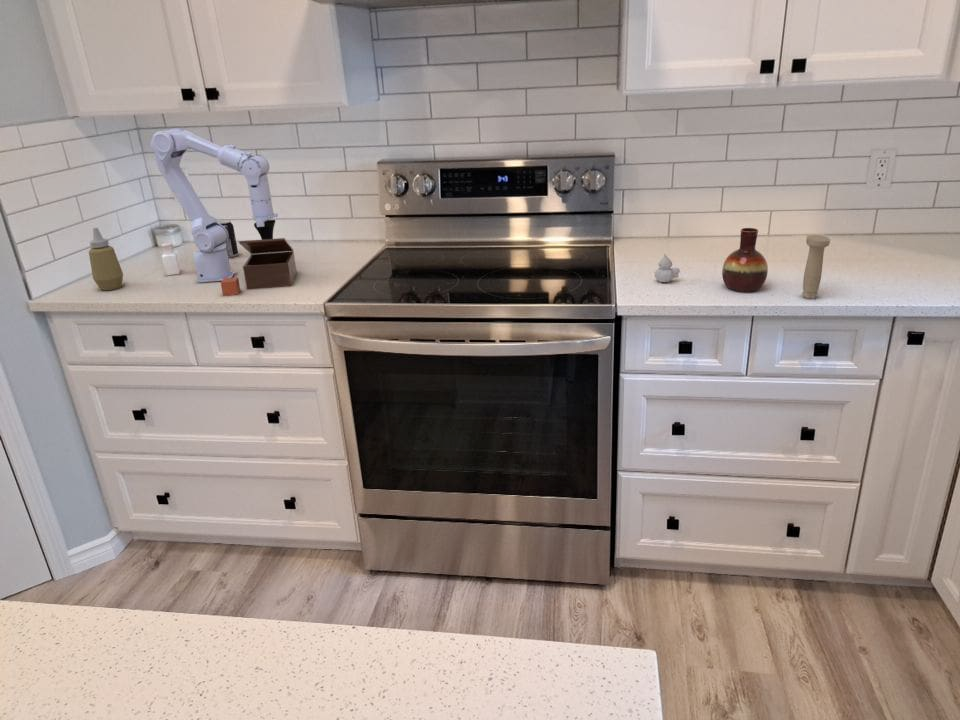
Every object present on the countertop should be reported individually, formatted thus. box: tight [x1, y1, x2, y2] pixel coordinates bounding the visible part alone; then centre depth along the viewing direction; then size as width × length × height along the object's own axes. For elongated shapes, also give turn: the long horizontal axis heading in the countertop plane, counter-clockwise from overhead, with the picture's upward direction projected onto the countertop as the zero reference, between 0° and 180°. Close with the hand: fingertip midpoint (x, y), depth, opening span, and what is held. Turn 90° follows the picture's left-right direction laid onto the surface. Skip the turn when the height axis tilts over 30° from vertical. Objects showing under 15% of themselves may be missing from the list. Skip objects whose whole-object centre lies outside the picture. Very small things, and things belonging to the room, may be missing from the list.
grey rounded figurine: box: [654, 253, 681, 283], centre depth 188 cm, size 5×7×8 cm
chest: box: [242, 250, 298, 290], centre depth 205 cm, size 14×13×7 cm
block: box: [220, 276, 241, 297], centre depth 195 cm, size 4×4×4 cm
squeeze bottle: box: [88, 227, 124, 291], centre depth 202 cm, size 8×8×18 cm
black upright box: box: [218, 219, 239, 259], centre depth 232 cm, size 6×6×12 cm
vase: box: [721, 227, 769, 293], centre depth 179 cm, size 11×11×15 cm
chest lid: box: [238, 237, 294, 255], centre depth 202 cm, size 14×13×1 cm
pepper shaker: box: [160, 242, 181, 276], centre depth 216 cm, size 4×4×10 cm
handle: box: [802, 234, 831, 300], centre depth 170 cm, size 5×6×15 cm
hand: (268, 246), depth 204 cm, fingers closed
